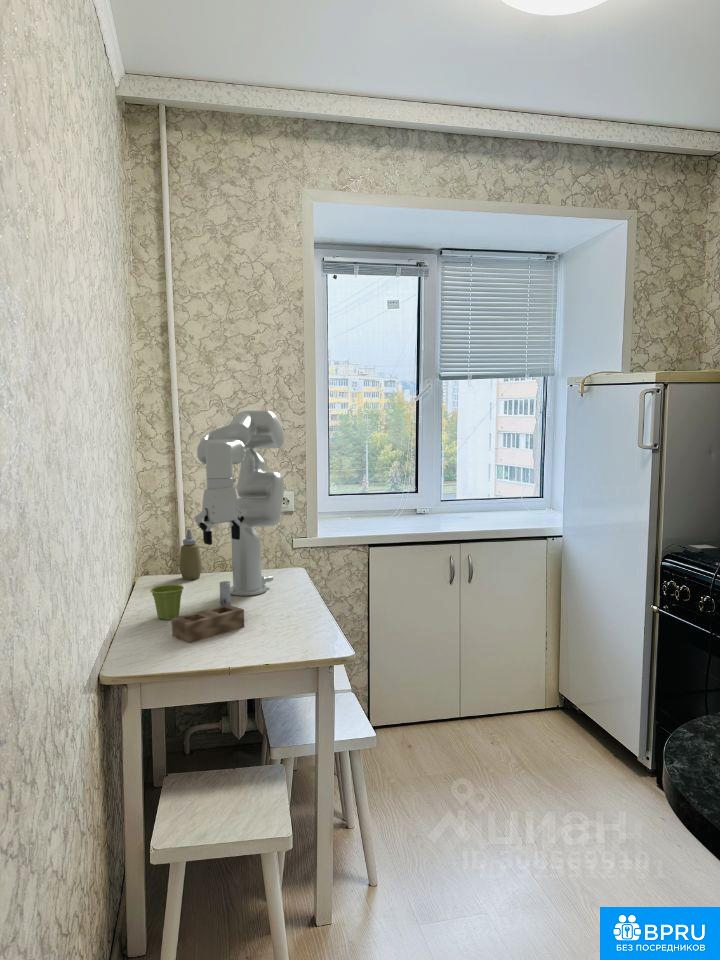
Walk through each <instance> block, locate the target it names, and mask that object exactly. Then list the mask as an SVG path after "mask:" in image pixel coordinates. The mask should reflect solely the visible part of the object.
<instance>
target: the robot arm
mask: <svg viewBox="0 0 720 960" xmlns="http://www.w3.org/2000/svg"><path fill="white" fill-rule="evenodd" d="M284 443H285V431H284V428H283V425H282V424H281V422H280V420H279V419H278V417H277V416H276V414H275V413H274V412H272V411H271V410H242V411H240V412H238V413H237V414H236V415H235V416H234V417H233V418H232V419H231V421H230V423H229V424H227V425H224V426H222V427H220V428H217V429H214V430H210V431H209V432H207V433H206V434H204V436H203V437H202V438H201V440H200V441H199V443H198V446H197V449H196V453H197V458H198V461H200V463H201V464H203V465H205V470H206V471H205V472H206V475H205V476H206V488H204V490H203V494H202V495H203V496H202V503H201V504H202V505H201V510H202V511H200V513H198V514H197V515H195V516H194V520H195V523H196V525H197V526H198V527H199V528H200V529H201V531H202V535H203V543H204V544H205V545H209V546H210V545H211V546H212V545H213V533H212V531H211V529H212V527H213V525H216V524H223V523H229V528H230V539H231V561H232V586H230V595H232V596H242V597H245V596H249V595H250V596H256V595H261V594H263V593H266V591H267V585H265V584H266V583H270V582H272V581H274V577H273V575H268V576H264V575H262V551H261V538H260V535H259V533H258V532H257V531H256V529H254V528H255V527H274V526H277V525H279V524H280V523H279V522H280V521H281V516H282V508H283V502H284V501H283V500H284V495H285V483H284V478H283V476H282V474H281V473H280V472H278V471H277V472H276V471H266V465H267V464H266V462H265V460H264V459H263V457H262V456H261V455H260V454H259V453H258V452H257V451H256V450H257V449H260V450H261V449H279V448H281V447H282V446H283V444H284ZM238 464H240V468H239V473H238V478H237V480H236V478H234V476H233V472H234V471H233V465H238ZM236 482H237V483H236ZM234 483H235V484H237V485H236V488H235V487H234ZM238 497H239V498H238Z"/></svg>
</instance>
